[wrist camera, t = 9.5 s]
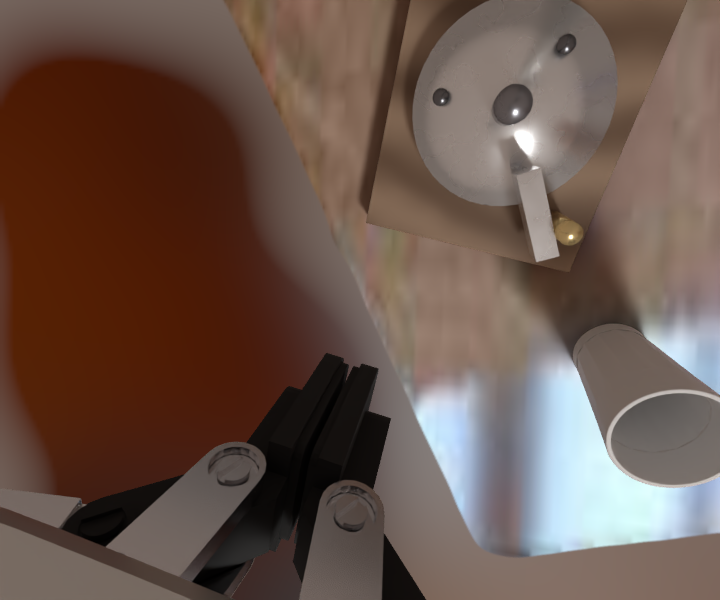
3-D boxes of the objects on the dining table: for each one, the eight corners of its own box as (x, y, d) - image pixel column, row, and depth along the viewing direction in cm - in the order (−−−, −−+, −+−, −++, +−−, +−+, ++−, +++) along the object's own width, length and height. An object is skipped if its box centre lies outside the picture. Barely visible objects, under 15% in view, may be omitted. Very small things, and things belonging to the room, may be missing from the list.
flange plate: (391, 53, 30) (381, 38, 26) (591, -43, 26) (616, -79, 21) (454, 267, 35) (453, 283, 31) (631, 219, 30) (658, 230, 26)
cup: (566, 315, 36) (612, 386, 25) (666, 314, 34) (763, 391, 23) (560, 388, 39) (600, 481, 28) (652, 392, 37) (734, 493, 26)
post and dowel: (484, 105, 30) (489, 96, 25) (514, 85, 29) (525, 72, 24) (546, 234, 32) (562, 250, 27) (576, 220, 31) (598, 233, 26)
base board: (430, -74, 28) (428, -90, 27) (693, -40, 26) (711, -55, 24) (370, 219, 37) (366, 222, 35) (563, 266, 35) (568, 272, 33)
